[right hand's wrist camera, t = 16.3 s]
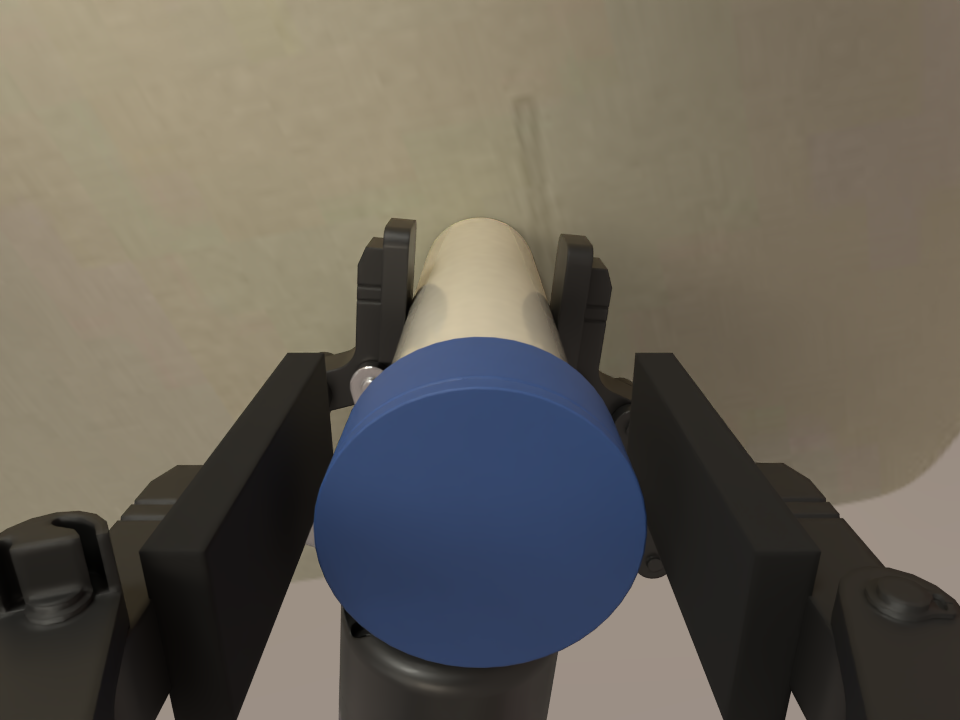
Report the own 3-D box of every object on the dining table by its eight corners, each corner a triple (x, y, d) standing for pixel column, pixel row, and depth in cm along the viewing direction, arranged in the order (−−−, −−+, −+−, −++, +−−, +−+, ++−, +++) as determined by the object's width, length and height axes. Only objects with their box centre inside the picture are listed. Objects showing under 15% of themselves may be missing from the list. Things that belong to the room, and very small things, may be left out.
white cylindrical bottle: (403, 285, 26) (299, 545, 11) (466, 194, 25) (445, 345, 10) (492, 344, 27) (509, 661, 12) (556, 259, 26) (667, 491, 11)
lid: (576, 599, 13) (593, 692, 11) (322, 552, 13) (292, 639, 11) (656, 368, 12) (694, 428, 10) (366, 306, 11) (340, 353, 9)
